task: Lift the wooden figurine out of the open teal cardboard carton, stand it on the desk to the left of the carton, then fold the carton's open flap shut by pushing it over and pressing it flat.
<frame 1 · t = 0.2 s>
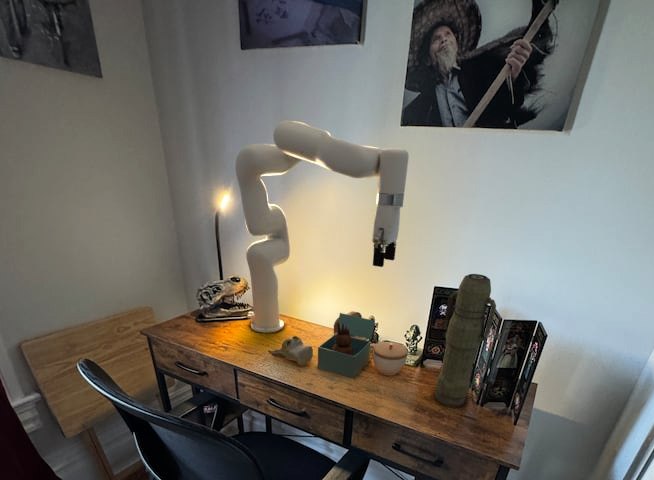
hand: (383, 262, 115), 31 cm above the table, tool pointing down, fingers open, 9 cm apart
wooden figurine: (341, 366, 122), resting on carton
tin: (347, 335, 143), on the table
ceramic sculpture: (294, 360, 125), on the table
trinket box: (387, 371, 121), on the table
carton: (343, 364, 123), on the table
thermos: (449, 398, 109), on the table
flap: (355, 326, 123), point 11 cm above the table, hinge at 110.0°
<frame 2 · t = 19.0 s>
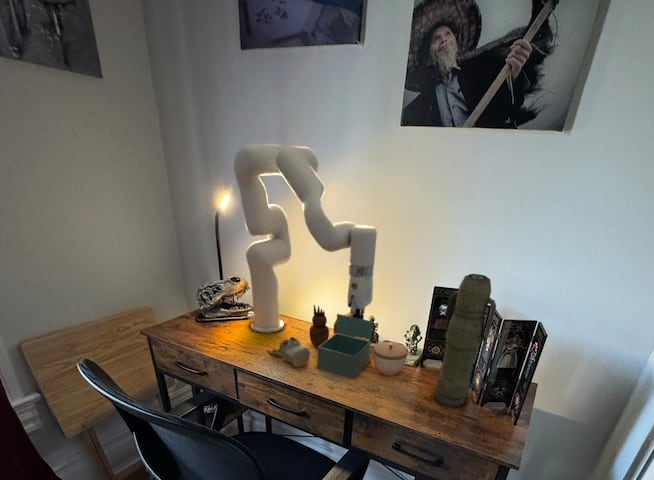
hand: (357, 325, 125), 10 cm above the table, tool pointing down, fingers closed
wooden figurine: (319, 345, 135), on the table
ceramic sculpture: (291, 361, 124), on the table
flap: (354, 326, 122), point 11 cm above the table, hinge at 90.3°, touching gripper
everything else where it was.
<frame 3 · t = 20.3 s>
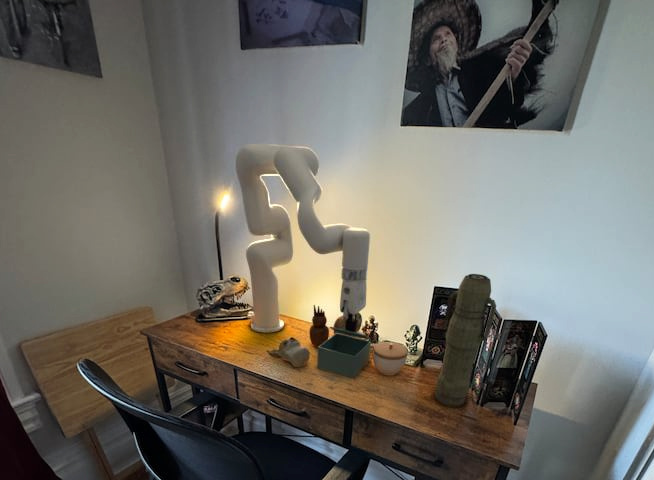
hand: (350, 331, 121), 10 cm above the table, tool pointing down, fingers closed
flap: (350, 333, 121), point 10 cm above the table, hinge at 34.1°
everything else where it was.
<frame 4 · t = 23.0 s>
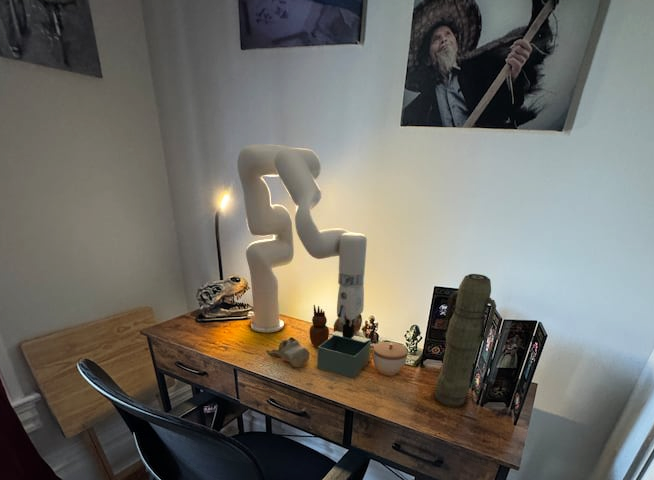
hand: (348, 336, 120), 9 cm above the table, tool pointing down, fingers closed
flap: (349, 336, 121), point 9 cm above the table, hinge at 13.4°
everything else where it was.
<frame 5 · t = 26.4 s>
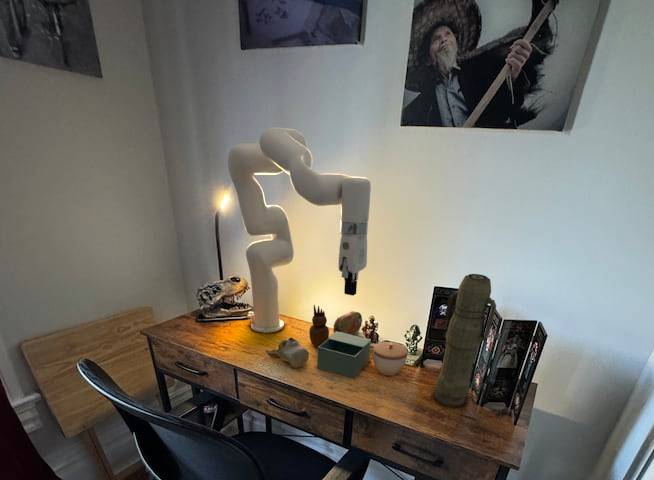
hand: (350, 294, 113), 23 cm above the table, tool pointing down, fingers closed
flap: (349, 339, 122), point 8 cm above the table, hinge at -1.4°
everything else where it was.
at the end: wooden figurine inside the target area (0.0 cm from its centre), on the table; wooden figurine tilted 0°; flap at -1° (first picture: +110°) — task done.
